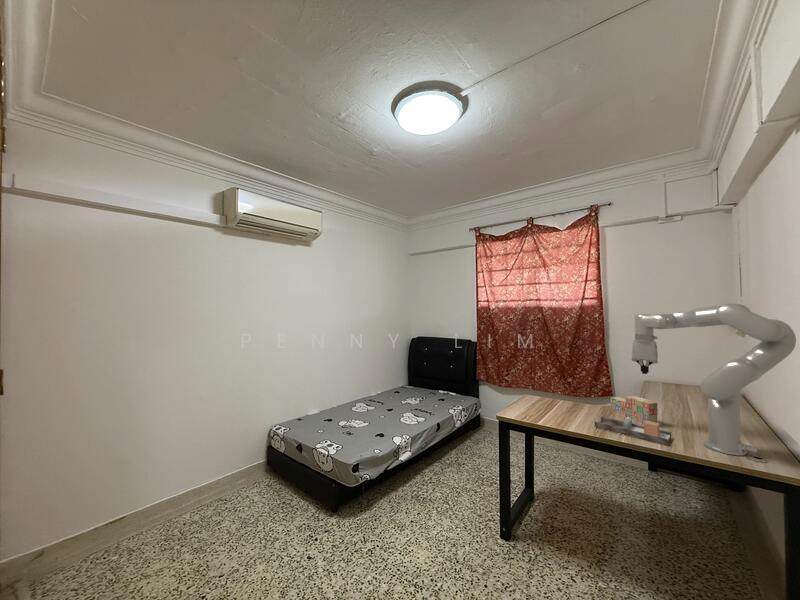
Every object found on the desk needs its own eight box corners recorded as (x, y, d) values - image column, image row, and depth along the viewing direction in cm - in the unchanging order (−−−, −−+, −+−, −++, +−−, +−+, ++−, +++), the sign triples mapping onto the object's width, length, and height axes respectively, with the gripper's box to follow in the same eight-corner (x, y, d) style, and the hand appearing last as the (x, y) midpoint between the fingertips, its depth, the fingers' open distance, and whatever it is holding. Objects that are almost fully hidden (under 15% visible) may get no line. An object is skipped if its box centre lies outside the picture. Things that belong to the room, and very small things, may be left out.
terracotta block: (659, 434, 144) (659, 423, 144) (657, 436, 140) (657, 425, 141) (646, 430, 148) (646, 420, 148) (643, 433, 144) (643, 422, 144)
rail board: (671, 438, 143) (671, 432, 143) (667, 446, 135) (666, 439, 135) (601, 421, 164) (601, 416, 164) (594, 427, 156) (594, 421, 156)
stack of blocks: (610, 413, 178) (609, 392, 178) (618, 412, 180) (618, 391, 180) (649, 427, 158) (648, 403, 158) (658, 426, 159) (657, 402, 160)
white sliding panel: (670, 437, 142) (670, 428, 143) (667, 442, 137) (667, 433, 137) (628, 426, 154) (628, 418, 154) (623, 431, 148) (623, 423, 149)
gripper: (664, 338, 156) (664, 375, 155) (628, 336, 167) (628, 370, 166) (661, 339, 151) (662, 377, 150) (624, 337, 162) (625, 372, 161)
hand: (644, 373), depth 158 cm, fingers closed
